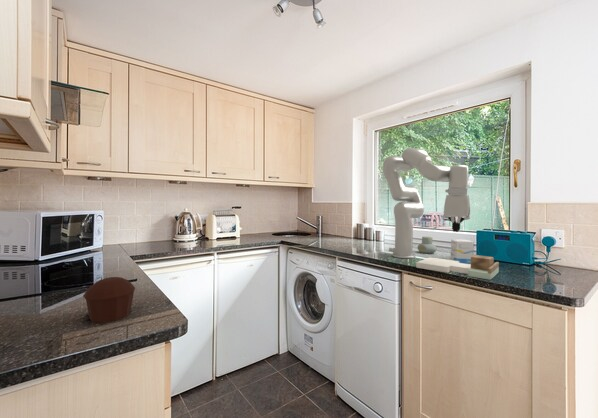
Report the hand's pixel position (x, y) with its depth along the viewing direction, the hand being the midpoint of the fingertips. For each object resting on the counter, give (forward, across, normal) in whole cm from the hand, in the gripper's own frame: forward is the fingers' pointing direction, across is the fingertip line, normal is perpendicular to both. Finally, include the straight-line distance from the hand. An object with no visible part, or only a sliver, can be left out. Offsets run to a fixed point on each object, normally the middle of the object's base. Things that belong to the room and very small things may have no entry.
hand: (455, 231), depth 131 cm
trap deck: (+18, +1, 0) cm, 18 cm away
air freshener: (+19, -25, +36) cm, 48 cm away
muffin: (+18, -49, -127) cm, 137 cm away
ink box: (+18, -2, +21) cm, 28 cm away
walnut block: (+15, +11, -1) cm, 19 cm away
